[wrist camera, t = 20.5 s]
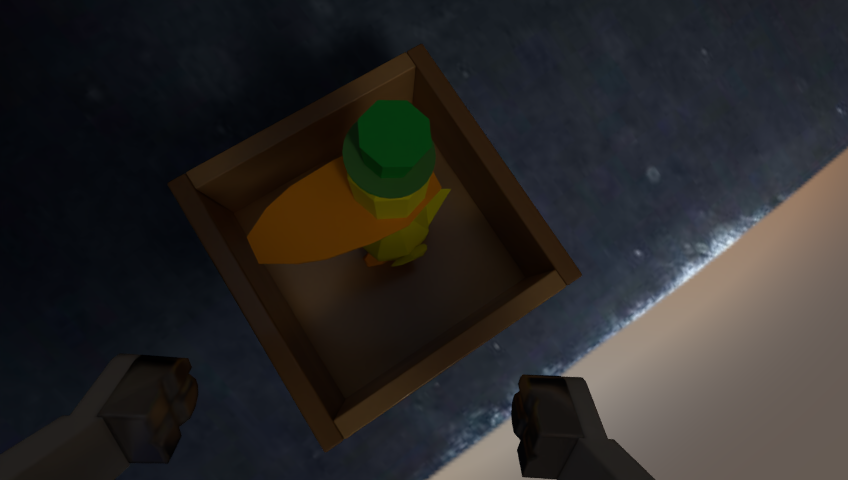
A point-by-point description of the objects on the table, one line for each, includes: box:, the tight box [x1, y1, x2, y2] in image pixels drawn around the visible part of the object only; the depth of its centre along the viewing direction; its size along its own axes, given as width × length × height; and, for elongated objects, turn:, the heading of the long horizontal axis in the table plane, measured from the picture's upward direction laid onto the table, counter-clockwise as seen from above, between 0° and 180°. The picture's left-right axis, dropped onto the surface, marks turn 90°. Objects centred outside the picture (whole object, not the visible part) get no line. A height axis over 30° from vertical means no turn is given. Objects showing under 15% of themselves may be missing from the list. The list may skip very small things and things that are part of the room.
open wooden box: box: [168, 44, 582, 452], centre depth 19 cm, size 12×12×5 cm
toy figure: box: [247, 100, 451, 267], centre depth 14 cm, size 7×4×12 cm, turn 118°
